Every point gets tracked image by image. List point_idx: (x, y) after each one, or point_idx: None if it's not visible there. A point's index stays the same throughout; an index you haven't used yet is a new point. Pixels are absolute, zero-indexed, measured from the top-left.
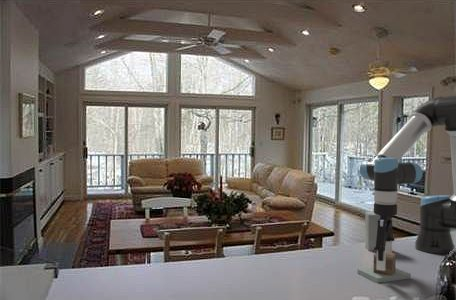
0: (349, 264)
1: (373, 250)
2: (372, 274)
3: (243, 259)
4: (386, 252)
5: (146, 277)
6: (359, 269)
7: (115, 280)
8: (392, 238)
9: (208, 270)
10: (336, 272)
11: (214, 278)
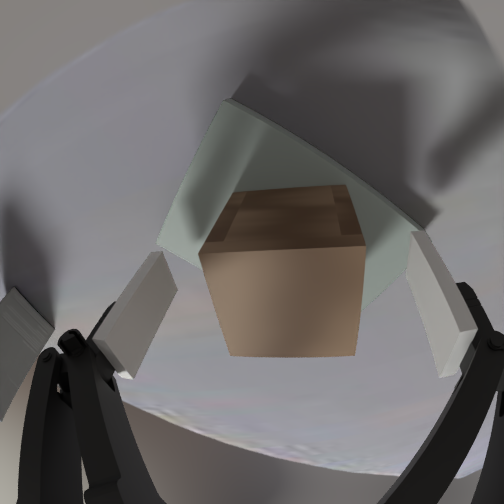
0: (231, 360)
1: (44, 319)
2: (381, 273)
3: (356, 464)
4: (222, 312)
5: (476, 457)
6: None
7: None
8: (67, 352)
9: None
10: (359, 368)
11: None
